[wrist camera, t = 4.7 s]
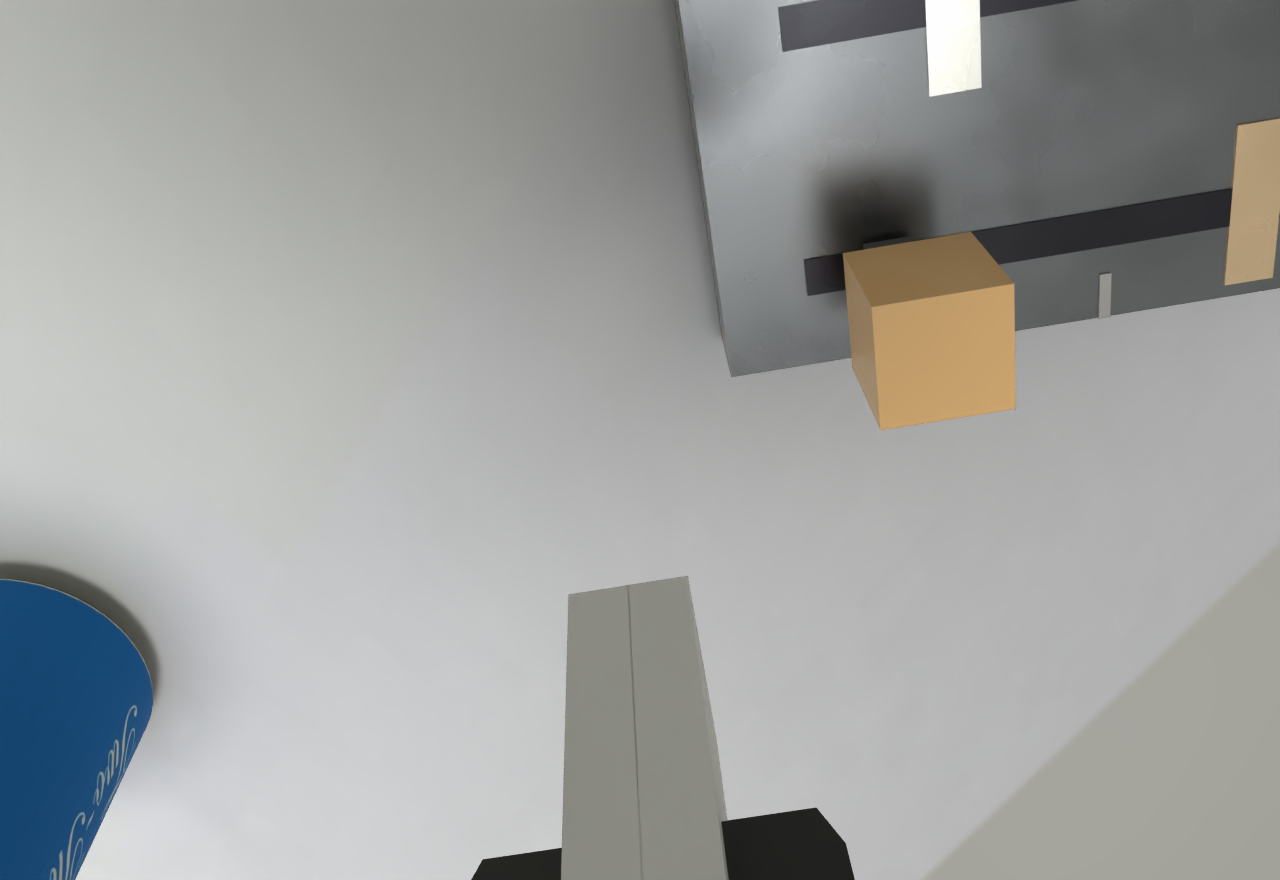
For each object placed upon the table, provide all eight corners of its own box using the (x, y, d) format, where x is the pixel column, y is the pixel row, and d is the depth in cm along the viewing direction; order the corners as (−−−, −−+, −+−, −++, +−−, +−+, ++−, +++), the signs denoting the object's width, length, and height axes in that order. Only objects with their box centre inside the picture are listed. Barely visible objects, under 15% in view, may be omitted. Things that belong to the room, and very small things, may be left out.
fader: (835, 330, 25) (880, 430, 21) (826, 222, 24) (871, 307, 20) (949, 311, 25) (1014, 408, 21) (945, 201, 24) (1014, 283, 20)
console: (722, 338, 27) (731, 378, 26) (663, -79, 23) (669, -67, 21) (1427, 223, 27) (1489, 255, 25) (1505, -232, 22) (1586, -233, 20)
